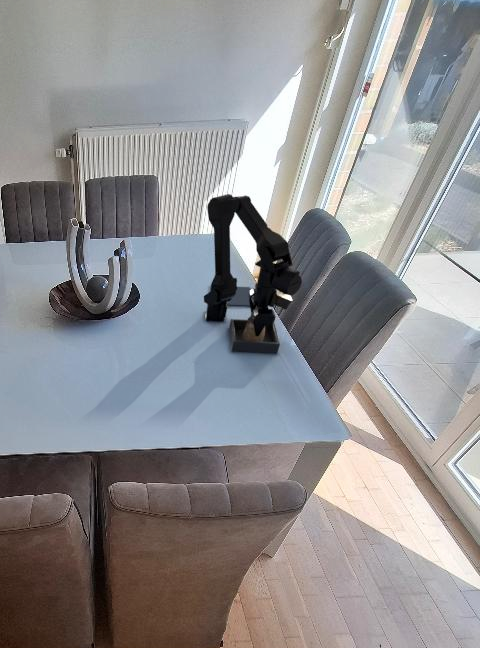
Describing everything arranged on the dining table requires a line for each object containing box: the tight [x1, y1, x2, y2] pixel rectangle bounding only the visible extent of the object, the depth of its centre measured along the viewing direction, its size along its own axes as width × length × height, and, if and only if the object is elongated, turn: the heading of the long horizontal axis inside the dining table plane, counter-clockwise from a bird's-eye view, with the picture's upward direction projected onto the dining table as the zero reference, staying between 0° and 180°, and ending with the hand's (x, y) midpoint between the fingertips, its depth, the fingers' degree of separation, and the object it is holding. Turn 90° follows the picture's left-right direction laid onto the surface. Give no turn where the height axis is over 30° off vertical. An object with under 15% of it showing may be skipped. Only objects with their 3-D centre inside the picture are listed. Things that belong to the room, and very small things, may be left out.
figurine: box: [241, 308, 265, 342], centre depth 151 cm, size 7×7×12 cm
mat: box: [226, 286, 251, 307], centre depth 178 cm, size 15×15×1 cm
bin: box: [228, 318, 281, 355], centre depth 154 cm, size 15×15×4 cm
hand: (255, 329), depth 152 cm, fingers closed on figurine, 8 cm apart
